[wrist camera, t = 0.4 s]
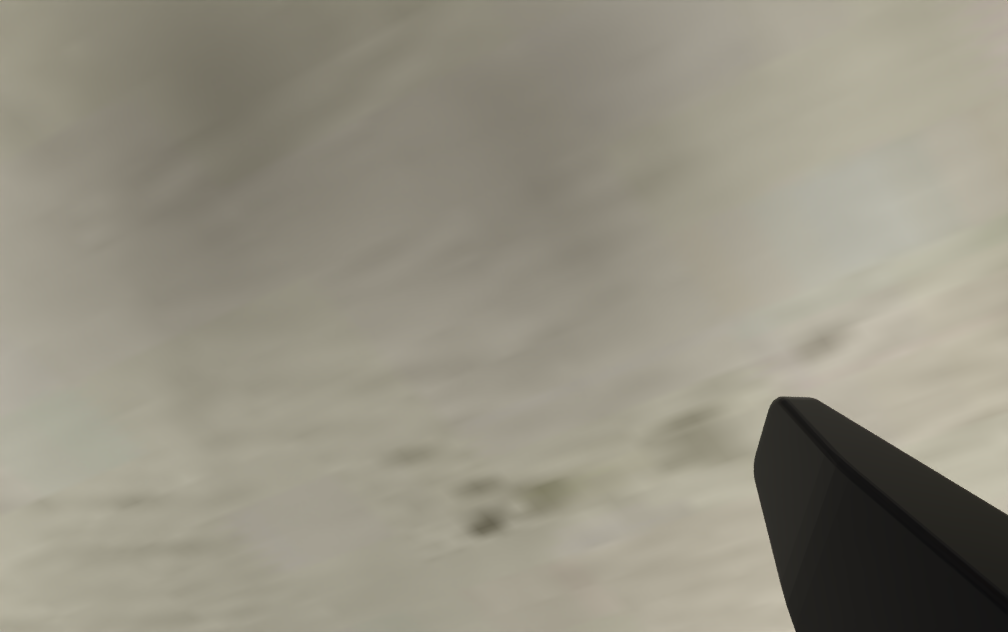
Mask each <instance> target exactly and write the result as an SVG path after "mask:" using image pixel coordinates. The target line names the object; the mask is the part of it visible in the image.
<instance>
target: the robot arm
mask: <svg viewBox="0 0 1008 632" xmlns="http://www.w3.org/2000/svg"><path fill="white" fill-rule="evenodd" d="M754 478H755V483H756V487H757V491H758V495H759V499H760V503H761V507H762V511H763V515H764V519H765V523H766V527H767V531H768V535H769V539H770V543H771V547H772V551H773V555H774V559H775V563H776V567H777V571H778V575H779V579H780V583H781V587H782V591H783V594H784V598H785V601H786V605H787V608H788V611H789V614H790V617H791V619H792V622H793V625H794V628H795V631H796V632H1008V515H1007V514H1005V513H1004V512H1002V511H1000V510H999V509H997V508H995V507H994V506H992V505H990V504H989V503H987V502H985V501H984V500H982V499H981V498H979V497H977V496H976V495H974V494H972V493H971V492H969V491H967V490H966V489H964V488H962V487H961V486H959V485H957V484H956V483H954V482H952V481H951V480H949V479H948V478H946V477H944V476H943V475H941V474H939V473H938V472H936V471H934V470H933V469H931V468H929V467H928V466H926V465H924V464H923V463H921V462H919V461H918V460H916V459H914V458H913V457H911V456H910V455H908V454H906V453H905V452H903V451H901V450H900V449H898V448H896V447H895V446H893V445H891V444H890V443H888V442H886V441H885V440H883V439H881V438H880V437H878V436H877V435H875V434H873V433H872V432H870V431H868V430H867V429H865V428H863V427H862V426H860V425H858V424H857V423H855V422H853V421H852V420H850V419H848V418H847V417H845V416H844V415H842V414H840V413H839V412H837V411H835V410H834V409H832V408H830V407H829V406H827V405H825V404H824V403H822V402H820V401H819V400H817V399H814V398H810V397H778V398H777V399H775V400H774V401H773V402H772V404H771V405H770V408H769V410H768V413H767V417H766V420H765V424H764V427H763V431H762V434H761V438H760V441H759V445H758V448H757V451H756V455H755V459H754Z"/></svg>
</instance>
